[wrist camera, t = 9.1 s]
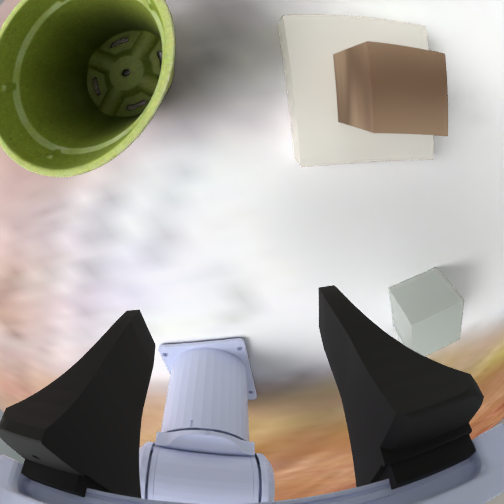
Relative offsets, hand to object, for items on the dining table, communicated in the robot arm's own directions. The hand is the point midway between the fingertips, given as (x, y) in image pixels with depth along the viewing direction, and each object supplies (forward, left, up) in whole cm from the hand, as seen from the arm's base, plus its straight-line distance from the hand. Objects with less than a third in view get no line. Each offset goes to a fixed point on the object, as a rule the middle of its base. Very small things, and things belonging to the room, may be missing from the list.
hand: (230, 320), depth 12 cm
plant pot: (+11, +5, -11) cm, 16 cm away
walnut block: (+8, -9, -8) cm, 14 cm away
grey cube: (-10, -15, -10) cm, 21 cm away
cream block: (+8, -9, -11) cm, 16 cm away
